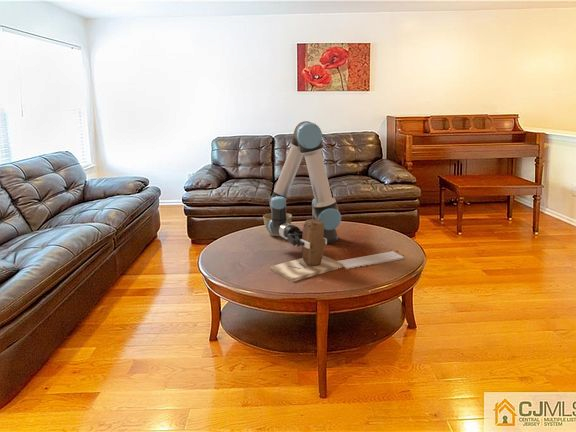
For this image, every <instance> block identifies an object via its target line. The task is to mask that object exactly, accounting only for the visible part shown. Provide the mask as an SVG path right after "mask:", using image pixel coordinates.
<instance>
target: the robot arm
mask: <svg viewBox="0 0 576 432" xmlns="http://www.w3.org/2000/svg"><path fill="white" fill-rule="evenodd" d="M323 149H324V143H323V132H322V130H321V128H320V126H319V125H317V124H316V123H315V122H311V121H306V120H304V121H301V122H299V123H298V124H297V125H296V126H295V128H294V130H293V135H292V137H291V140H290V149H289V150H288V153H287V156H286V159H285V161H284V164H283V167H282V169H281V171H280V174H279V177H278V180H277V182H276V183H275V187H274V189H273V192H272V195H271V196H269V201H268V203H269V207H270V211H271V212H270V213H271V215H272V220H271V221H270V222H269V224H268V228H269V230H270V231H271V232H272V233H273V234H275V235H278V236H277V237H282V238H283V239H284V241H286V242H288V243H289V244H291V245H292V246H294V247H295V246H296V245H297V246H296V247H298V248H300V247H302V248H303V247H306V248H308V249H310V243H309V242H307V241H305V240H302V235H303V230H301V229H300V228H299V227H298V226H296V225H293V224H292V223H291V224H289V223H287V221H286V213H287V197H288V195H289V192H290V190H291V188H292V184H293V183H294V180H295V178H296V176H297V175H296V174H297V172H298V170H299V167H300V165H301V163H302V161H303V157H304V160H305V164H306V169H307V172H308V176H309V180H310V185H311V189H312V193H313V197H314V198H313V199H312V202H311V207H312V209H311V210H312V211H311V212H312V214H311V215H312V217H311V218H312V219H318V220H320V221H321V222H323V224H324V242H323V245H327V244H332V243H335V242H337V241H338V233H337V230H336V229H337V228H338V227H339V225H340V224H341V222H342V215H341V213H340V211H339V207H338V203H337V201H336V200H337V199H335V198H334V197H332V196H333V195H332V192H331V187H330V182H329V179H328V174H327V170H326V166H325V162H324V156H323Z"/></svg>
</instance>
